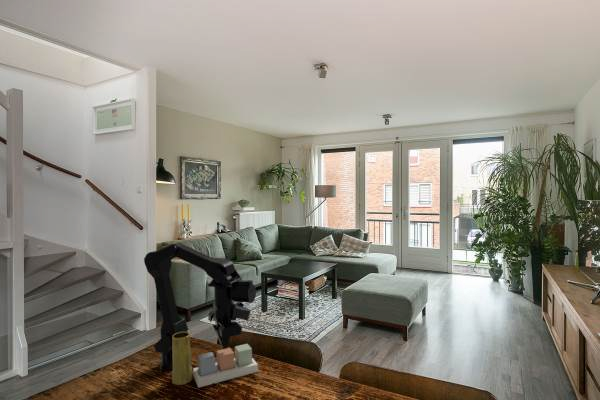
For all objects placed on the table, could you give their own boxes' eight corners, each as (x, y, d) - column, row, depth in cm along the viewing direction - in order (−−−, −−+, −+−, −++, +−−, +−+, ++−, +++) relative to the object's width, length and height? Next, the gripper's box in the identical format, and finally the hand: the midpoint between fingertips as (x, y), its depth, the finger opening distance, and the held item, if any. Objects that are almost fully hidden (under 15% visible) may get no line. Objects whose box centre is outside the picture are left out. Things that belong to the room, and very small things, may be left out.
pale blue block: (198, 370, 111) (197, 355, 111) (212, 367, 113) (211, 351, 113) (201, 376, 107) (200, 360, 107) (215, 373, 109) (215, 357, 109)
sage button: (235, 361, 116) (234, 346, 116) (247, 358, 118) (247, 343, 118) (239, 367, 112) (238, 351, 112) (252, 363, 114) (251, 348, 114)
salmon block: (217, 366, 113) (216, 350, 113) (230, 362, 115) (230, 347, 115) (220, 371, 110) (220, 356, 109) (234, 368, 112) (233, 352, 112)
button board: (193, 375, 112) (193, 368, 112) (249, 361, 120) (249, 354, 120) (198, 387, 105) (198, 379, 105) (258, 371, 113) (257, 364, 113)
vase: (186, 386, 106) (184, 339, 105) (167, 384, 107) (166, 338, 107) (196, 376, 112) (194, 331, 111) (178, 374, 113) (177, 330, 113)
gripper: (257, 303, 108) (258, 354, 108) (239, 289, 124) (240, 333, 124) (221, 310, 103) (223, 362, 103) (207, 294, 119) (208, 340, 119)
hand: (224, 348), depth 112 cm, fingers closed
